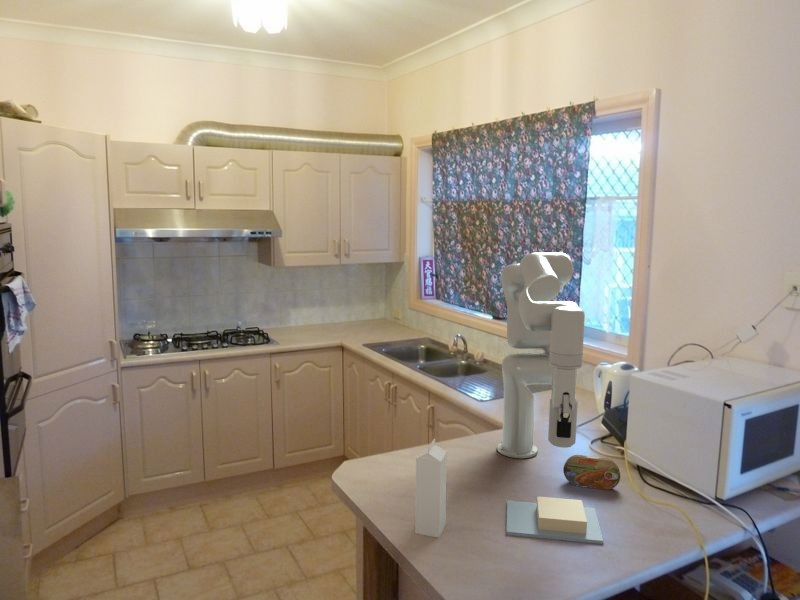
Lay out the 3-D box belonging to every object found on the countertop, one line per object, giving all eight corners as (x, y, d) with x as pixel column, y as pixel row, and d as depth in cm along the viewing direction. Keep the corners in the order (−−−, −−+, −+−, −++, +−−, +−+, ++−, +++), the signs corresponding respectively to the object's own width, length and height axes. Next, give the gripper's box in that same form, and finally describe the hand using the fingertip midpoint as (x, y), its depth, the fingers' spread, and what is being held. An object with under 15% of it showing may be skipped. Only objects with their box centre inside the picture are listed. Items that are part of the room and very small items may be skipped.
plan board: (507, 503, 162) (507, 489, 162) (594, 510, 158) (594, 496, 158) (506, 534, 147) (507, 519, 146) (603, 544, 143) (604, 528, 142)
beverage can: (555, 436, 154) (557, 390, 152) (579, 443, 150) (582, 395, 148) (543, 444, 149) (545, 396, 147) (568, 451, 145) (570, 401, 143)
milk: (415, 534, 147) (415, 445, 143) (422, 521, 152) (422, 436, 149) (440, 538, 145) (440, 448, 142) (446, 525, 151) (447, 439, 147)
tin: (562, 483, 174) (563, 455, 173) (563, 479, 177) (565, 451, 176) (619, 492, 169) (621, 463, 167) (619, 487, 172) (621, 458, 170)
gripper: (547, 350, 155) (544, 418, 158) (551, 367, 138) (548, 444, 141) (578, 351, 154) (575, 420, 157) (586, 369, 137) (582, 446, 140)
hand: (562, 431), depth 149 cm, fingers closed on beverage can, 6 cm apart
